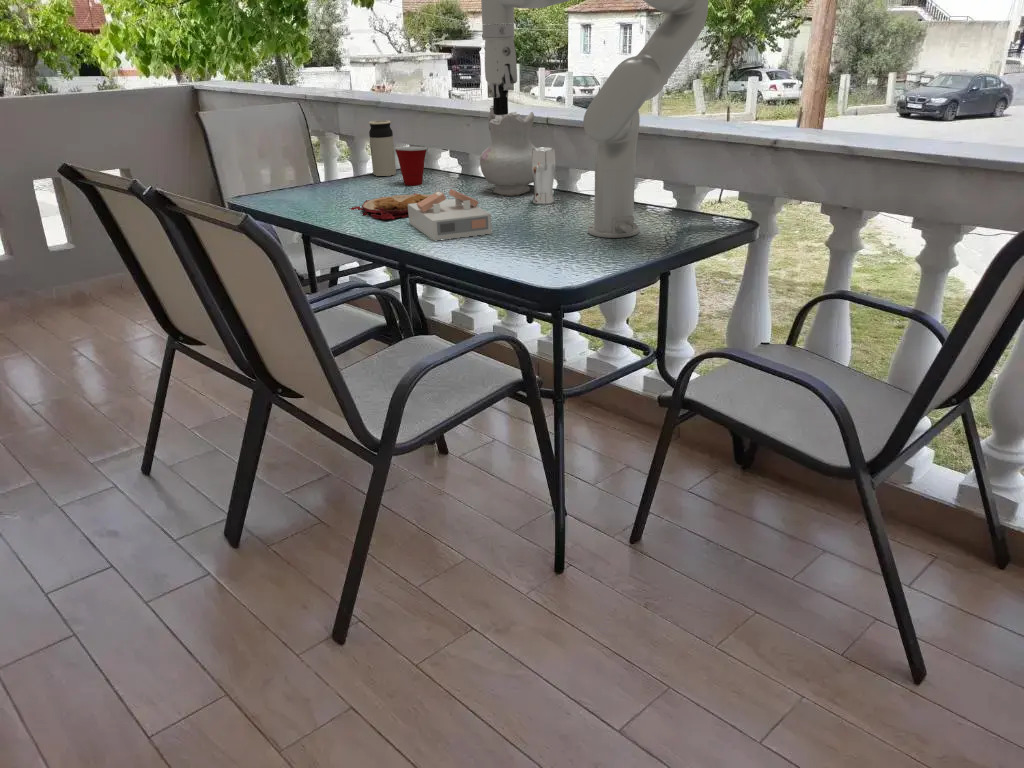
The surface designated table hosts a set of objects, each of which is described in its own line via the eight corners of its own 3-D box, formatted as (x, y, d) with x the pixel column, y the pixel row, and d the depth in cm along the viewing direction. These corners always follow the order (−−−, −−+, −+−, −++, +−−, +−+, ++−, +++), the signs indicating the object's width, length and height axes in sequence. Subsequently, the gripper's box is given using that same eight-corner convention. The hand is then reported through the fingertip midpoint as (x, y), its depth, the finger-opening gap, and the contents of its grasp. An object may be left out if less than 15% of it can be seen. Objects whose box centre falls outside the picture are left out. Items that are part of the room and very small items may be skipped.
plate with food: (463, 209, 227) (463, 196, 225) (384, 223, 211) (383, 209, 210) (416, 198, 244) (415, 187, 243) (339, 210, 229) (338, 198, 227)
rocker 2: (476, 209, 201) (479, 201, 200) (453, 199, 197) (457, 191, 197) (469, 205, 205) (472, 197, 205) (447, 195, 202) (450, 188, 202)
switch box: (492, 234, 196) (491, 205, 193) (434, 241, 191) (432, 211, 188) (462, 216, 215) (461, 189, 212) (409, 223, 209) (406, 195, 206)
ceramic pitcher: (464, 194, 248) (455, 112, 236) (508, 180, 259) (502, 101, 248) (513, 204, 234) (506, 116, 222) (557, 188, 245) (553, 104, 234)
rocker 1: (447, 201, 197) (444, 193, 196) (425, 214, 196) (421, 207, 195) (441, 197, 202) (437, 190, 201) (419, 209, 201) (415, 203, 200)
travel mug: (398, 173, 281) (394, 120, 273) (392, 177, 274) (387, 122, 266) (377, 173, 282) (371, 120, 275) (370, 177, 275) (365, 123, 267)
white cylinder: (556, 199, 232) (555, 146, 225) (554, 204, 225) (554, 150, 219) (532, 199, 232) (531, 147, 226) (530, 204, 226) (529, 150, 220)
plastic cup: (436, 182, 262) (434, 145, 257) (416, 188, 254) (413, 149, 249) (411, 180, 268) (408, 143, 263) (390, 185, 259) (387, 147, 254)
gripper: (525, 32, 182) (527, 116, 190) (501, 32, 195) (503, 111, 202) (495, 33, 179) (498, 118, 187) (472, 33, 192) (476, 112, 200)
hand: (500, 114), depth 195 cm, fingers closed
